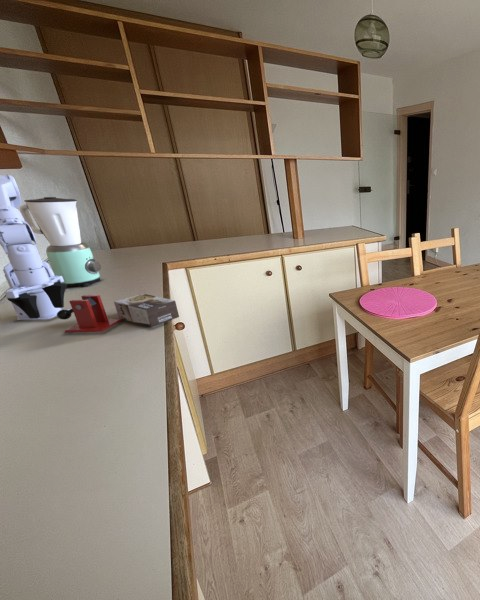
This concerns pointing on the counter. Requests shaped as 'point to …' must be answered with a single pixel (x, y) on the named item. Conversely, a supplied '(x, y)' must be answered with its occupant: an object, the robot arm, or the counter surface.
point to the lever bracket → (90, 315)
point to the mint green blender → (62, 239)
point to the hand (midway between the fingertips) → (47, 312)
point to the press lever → (71, 310)
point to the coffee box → (146, 309)
